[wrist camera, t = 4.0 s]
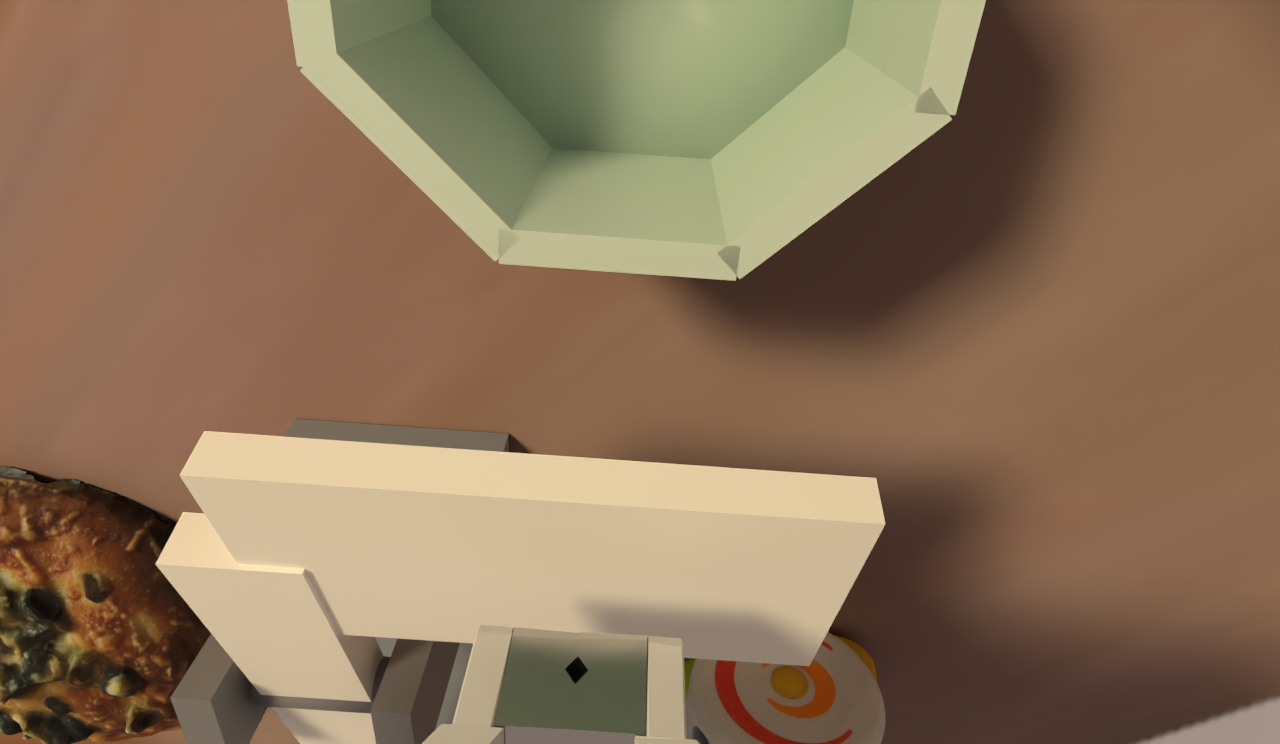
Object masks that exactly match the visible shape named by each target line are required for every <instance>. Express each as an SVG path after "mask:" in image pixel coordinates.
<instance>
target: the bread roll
mask: <svg viewBox="0 0 1280 744" xmlns="http://www.w3.org/2000/svg"><path fill="white" fill-rule="evenodd" d="M26 473H27V472H25V471H21V470H20V469H15V468H12V467H11V468H8V467H6V466H4V467H0V733H2V734H6V735H13V734H16V733H21V732H23V739H25V740H28V739H29V738H31V737H33V738H35V739H38V740H40V741H41V742H42V743H43V744H71V743H72V744H73V743H76V742H79V741H83V740H86V739H87V738H90V739H91V740H92V741H94V742H97V743H104V742H114V741H120V740H126V739H130V738H133V737H146V736H151V735H154V734H156V733H158V732H162V731H170V730H177V729H182V728H181V725H180V722H179V720H178V717H177V714H176V712H175V709H174V706H173V704H172V701H171V698H170V697H171V696H172V694H173V693H174V691H175V690H176V688H177V686H178V685H179V683H180V682H181V680H182V679H183V677H184V675H185V674H186V672H187V671H188V669H189V668H190V666H191V664H192V663H193V661H194V660H195V658H196V657H197V655H198V654H199V652H200V650H201V649H202V647H203V646H204V644H205V643H206V641H207V639H208V638H209V636H210V635H211V632H210V631H209V630H208V629H207V628H206V626H205V625H204V624H203V623H202V621H201V620H200V619H199V618H198V616H197V615H196V614H195V613H194V611H193V610H192V609H191V608H190V607H189V605H188V604H187V603H186V602H185V600H184V599H183V598H182V597H181V595H180V594H179V593H178V592H177V590H176V589H175V588H174V587H173V585H172V584H171V583H170V582H169V581H168V579H167V578H166V577H165V576H164V574H163V573H162V572H161V571H160V569H159V568H158V567H157V566H156V562H157V560H158V558H159V556H160V554H161V553H162V551H163V549H164V547H165V545H166V543H167V541H168V539H169V537H170V536H171V534H172V532H173V530H174V528H175V526H176V523H173V522H171V521H169V520H166V521H167V522H168V524H166V523H163V522H161V521H160V520H158V519H156V517H155V515H154V514H155V513H153V512H152V511H151V510H149V509H147V508H146V507H145V506H143V507H142V506H141V505H139V504H138V503H136V502H135V501H133V500H128V499H127V498H126V497H122V496H117V495H114V494H113V493H112V492H106V490H102V489H99V488H95V487H91V485H89V484H88V486H87V485H85V484H84V483H83V484H80V481H76V480H74V479H63V480H59V481H55V482H53V483H41V482H38V481H36V480H35V479H34V477H33V476H32V475H26Z"/></svg>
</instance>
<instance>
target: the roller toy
mask: <svg viewBox="0 0 1280 744" xmlns="http://www.w3.org/2000/svg"><path fill="white" fill-rule="evenodd" d="M684 674H685V703H686V732H687V739H693V740H697V741H698V742H699V743H700V744H881V742H882V738H883V735H884V730H885V723H886V716H885V706H884V701H883V698H882V695H881V692H880V689H879V687H878V684H877V682H876V679H877V673H876V668H875V665H874V662H873V660H872V658H871V657H870V655H869V654H868V653H867V652H866V650H865V649H864V648H862V647H861V646H860V645H858V644H856V643H855V642H853V641H851V640H849V639H847V638H844V637H840V636H837V635H832V634H831V633H829V632H827V634H826V636H825V638H824V640H823V642H822V643H821V645H820V647H819V649H818V651H817V653H816V655H815V656H814V658H813V660H812V662H811V664H810V666H799V665H784V664H770V663H755V662H740V661H725V660H710V659H695V658H691V659H690V660H688V661H687V662H686V663H685V664H684Z"/></svg>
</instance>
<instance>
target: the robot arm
mask: <svg viewBox="0 0 1280 744" xmlns="http://www.w3.org/2000/svg"><path fill="white" fill-rule="evenodd" d="M422 744H700V743H699V742H698V741H697V740H693V739H687V732H686V703H685V674H684V645H683V642H682V640H681V638H670V637H655V636H648V638H647V635H629V634H610V633H590V632H581V633H573V632H562V631H551V630H540V629H529V628H518V627H503V626H490V625H480V627H479V629H478V631H477V633H476V635H475V639H474V642H473V646H472V650H471V654H470V658H469V662H468V665H467V669H466V673H465V677H464V681H463V684H462V688H461V692H460V696H459V700H458V704H457V707H456V711H455V715H454V719H453V723H452V724H441V725H440V726H439V727H438V728H437V729H436V730H435V731H434V732H433V733H432V734H431V735H430V736H429V737H428V738H427V739H426V740H425V741H424V742H423V743H422Z"/></svg>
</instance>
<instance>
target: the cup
mask: <svg viewBox="0 0 1280 744" xmlns="http://www.w3.org/2000/svg"><path fill="white" fill-rule="evenodd" d="M287 2H288V9H289V16H290V22H291V29H292V36H293V42H294V49H295V56H296V62H297V66H302V67H303V68H302V69H301V70H300V72H301V73H302V74H303V75H305V76H306V77H307V78H308V79H309V80H310V81H311V82H312V83H313V84H314V85H315V86H316V87H317V88H318V89H319V90H320V91H321V92H322V93H323V94H324V95H325V96H326V97H327V98H328V99H329V100H330V101H331V102H332V103H333V104H334V105H335V106H336V107H337V108H338V109H339V110H340V111H341V112H342V113H343V114H344V115H345V116H346V117H347V118H349V119H350V120H351V121H352V122H353V123H354V124H355V125H356V126H357V127H358V128H359V129H360V130H361V131H362V132H363V133H364V134H365V135H366V136H367V137H368V138H369V139H370V140H371V141H372V142H373V143H374V144H375V145H376V146H377V147H378V148H379V149H380V150H381V151H382V152H383V153H384V154H385V155H386V156H387V157H388V158H389V159H390V160H391V161H393V162H394V163H395V164H396V165H397V166H398V167H399V168H400V169H401V170H402V171H403V172H404V173H405V174H406V175H407V176H408V177H409V178H410V179H411V180H412V181H413V182H414V183H415V184H416V185H417V186H418V187H419V188H420V189H421V190H422V191H423V192H424V193H425V194H426V195H427V196H428V197H429V198H430V199H431V200H432V201H433V202H434V203H435V204H437V205H438V206H439V207H440V208H441V209H442V210H443V211H444V212H445V213H446V214H447V215H448V216H449V217H450V218H451V219H452V220H453V221H454V222H455V223H456V224H457V225H458V226H459V227H460V228H461V229H462V230H463V231H464V232H465V233H466V234H467V235H468V236H469V237H470V238H471V239H472V240H473V241H474V242H475V243H476V244H477V245H478V246H479V247H481V248H482V249H483V250H484V251H485V252H486V253H487V254H488V255H489V256H490V257H491V258H492V259H493V260H494V261H496V260H498V259H499V264H511V265H524V266H538V267H552V268H566V269H580V270H593V271H607V272H621V273H635V274H649V275H663V276H676V277H690V278H704V279H718V280H732V281H736V276H737V277H738V278H739V279H741V278H743V277H744V276H745V275H746V274H748V273H749V272H750V271H752V270H753V269H754V268H756V267H757V266H758V265H760V264H761V263H762V262H764V261H765V260H766V259H768V258H769V257H770V256H772V255H773V254H774V253H776V252H777V251H778V250H780V249H781V248H782V247H784V246H785V245H786V244H788V243H789V242H790V241H792V240H793V239H794V238H796V237H797V236H798V235H800V234H801V233H802V232H804V231H805V230H806V229H808V228H809V227H810V226H812V225H813V224H814V223H816V222H817V221H818V220H820V219H821V218H822V217H824V216H825V215H826V214H828V213H829V212H830V211H832V210H833V209H834V208H836V207H837V206H838V205H839V204H841V203H842V202H843V201H845V200H846V199H847V198H849V197H850V196H851V195H853V194H854V193H855V192H857V191H858V190H859V189H861V188H862V187H863V186H865V185H866V184H867V183H869V182H870V181H871V180H873V179H874V178H875V177H877V176H878V175H879V174H881V173H882V172H883V171H885V170H886V169H887V168H889V167H890V166H891V165H893V164H894V163H895V162H897V161H898V160H899V159H901V158H902V157H903V156H905V155H906V154H907V153H909V152H910V151H911V150H913V149H914V148H915V147H917V146H918V145H919V144H921V143H922V142H923V141H925V140H926V139H927V138H929V137H930V136H931V135H933V134H934V133H935V132H936V131H938V130H939V129H940V128H942V127H943V126H944V125H946V124H947V123H948V122H950V121H951V120H952V118H951V117H950V115H956V111H957V107H958V104H959V100H960V96H961V92H962V89H963V85H964V81H965V77H966V74H967V70H968V66H969V62H970V59H971V55H972V51H973V47H974V44H975V40H976V36H977V32H978V29H979V25H980V21H981V17H982V14H983V10H984V6H985V2H986V0H287Z"/></svg>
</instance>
